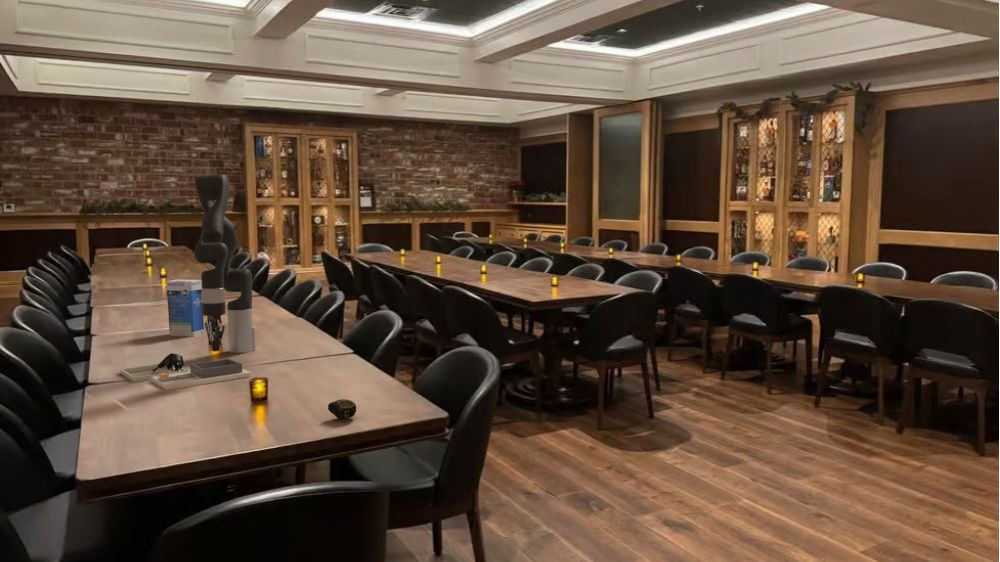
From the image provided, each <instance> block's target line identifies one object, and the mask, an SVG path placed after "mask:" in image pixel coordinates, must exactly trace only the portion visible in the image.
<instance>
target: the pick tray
mask: <svg viewBox="0 0 1000 562" xmlns="http://www.w3.org/2000/svg"><path fill="white" fill-rule="evenodd" d="M158 364H159V363H156V364H155V363H154V364H147V365H141V366H140V365H139V366H133V367H128V368H127V367H125V368H120V369H119V374H120V375H122V376H123V377H124V378H127V379H128V380H129V381H131V382H133V383H138V382H145V381H151V377H153V376H159V374H163V373H164V372H161V373H154V374H148V375H141V376H135V375H133V374H132V373H135V372H142V371H149V370H154V369H155V368H157V367H158ZM163 368H167V365H166V366H165V367H163ZM163 368H162V369H163ZM188 371H189V369H187V368H185V367H184V366H183V367H182V368H181V369H180V371H178V370H175V371H169V372H168V371H167V373H168V374H174V373H181V372H188Z"/></svg>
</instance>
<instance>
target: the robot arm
mask: <svg viewBox="0 0 1000 562" xmlns="http://www.w3.org/2000/svg"><path fill="white" fill-rule="evenodd" d="M194 183H195V184H194V185H195V191H196V194H197V197H198V200H199V202H200V204H201V208H202V211H203V213H204V216H203V219H202V221H201V231H200V232H201V234H200V237H199V239H198V242H197V244H196V246H195V248H194V255H193V256H194V259H195V260H196V262H197V263H200V264H216V267H214V268H211V269H208V270H204V271H202V273H201V277H200V278H201V279H200V280H201V284H202V294H201V298H202V314H203V317H204V316H205V317H207V318H206V322H204V327H205V330H206V334H207V337H208V338H209V339H210V344H211V351H212V352H219V351H220V340H222V339H223V336H224V333H225V329H226V327H225V325H223V321H222V317H221V316H223V315H226V314H227V328H228V329H227V330H228V332H227V333H228V335H227V336H228V352H229V353H230V354H231V353H232V354H243V353H244V354H245V353H246V354H247V353H251V352H253V351H254V350H255V351H256V333H255V332H256V330H255V326H253V310H252V309H253V305H252V304H253V275H252V274H253V273H252V272H251V270H250V269H248V268H232V267H231V263H230V262H231V259H232V257H233V255H234V253H235V251H236V249H237V246H238V242H239V240H238V236H237V231H236V227H235V225H234V224H233V223H232V221H231V220H230V219H228V218H227V216H225V215H226V212H227V211H226V210H227V207H228V202H229V197H230V192H231V191H230V184H229V179H228V177H227V176H226V175H225V174H222V173H216V174H206V175H199V176H197V177H196V178H195V181H194ZM212 201H215V202H214V203H213V202H212ZM225 291H226V292H227V293H228V292H229V293H240V296H239V297H238V298H235V299H233V300H230V301H228V302H227V305H226V292H225ZM226 307H227V308H226ZM226 309H227V310H226Z"/></svg>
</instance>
